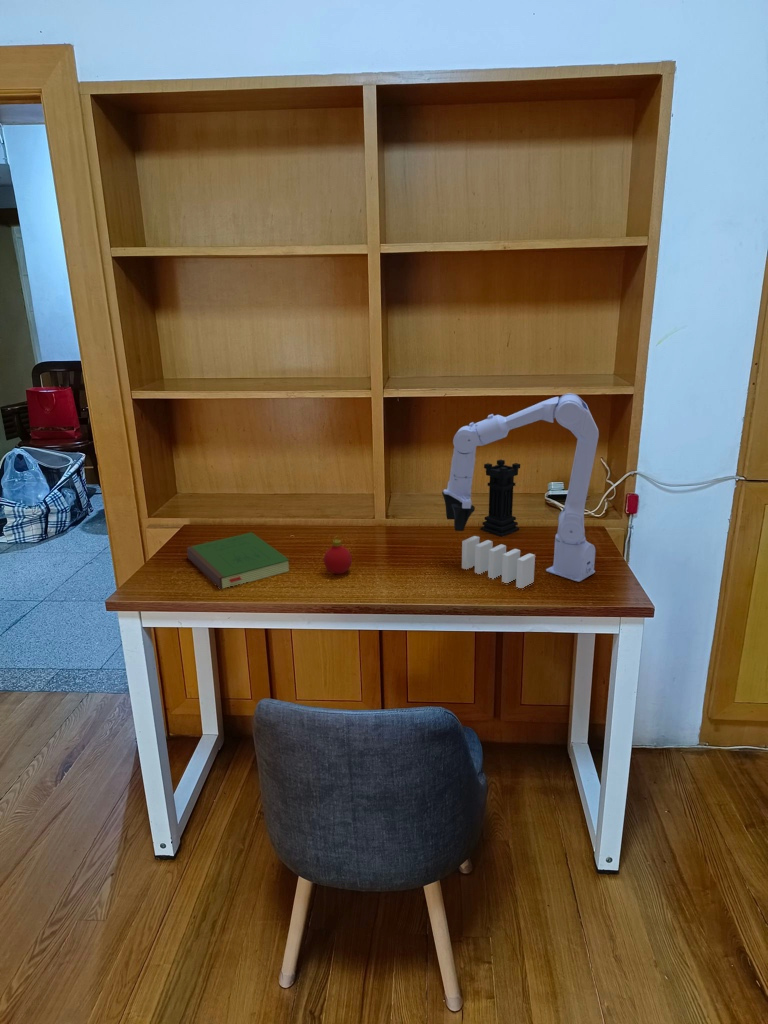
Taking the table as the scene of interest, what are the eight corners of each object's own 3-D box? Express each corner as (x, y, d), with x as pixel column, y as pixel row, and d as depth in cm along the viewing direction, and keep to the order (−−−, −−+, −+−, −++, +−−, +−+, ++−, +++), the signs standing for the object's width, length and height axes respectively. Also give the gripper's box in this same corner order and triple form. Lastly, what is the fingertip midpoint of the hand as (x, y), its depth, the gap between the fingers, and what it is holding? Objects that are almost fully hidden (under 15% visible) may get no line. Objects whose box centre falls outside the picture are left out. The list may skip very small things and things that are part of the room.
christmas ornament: (346, 564, 179) (344, 529, 175) (356, 575, 173) (355, 538, 169) (320, 570, 176) (318, 534, 173) (330, 580, 170) (328, 543, 167)
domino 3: (505, 573, 172) (506, 545, 169) (493, 579, 168) (494, 551, 166) (500, 571, 173) (501, 544, 170) (487, 577, 169) (488, 549, 167)
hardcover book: (188, 560, 185) (186, 547, 184) (252, 544, 195) (251, 532, 194) (222, 593, 166) (220, 579, 164) (291, 574, 175) (290, 560, 174)
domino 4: (519, 578, 169) (520, 550, 166) (507, 584, 166) (508, 556, 163) (513, 576, 170) (515, 548, 167) (501, 582, 167) (502, 554, 164)
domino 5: (533, 583, 166) (535, 554, 163) (521, 589, 163) (522, 561, 160) (528, 581, 167) (529, 553, 164) (515, 587, 164) (517, 559, 161)
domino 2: (491, 568, 174) (492, 541, 172) (479, 574, 171) (480, 547, 169) (486, 566, 176) (487, 539, 173) (474, 572, 172) (475, 545, 170)
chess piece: (480, 529, 200) (482, 464, 194) (497, 523, 205) (500, 458, 199) (501, 537, 195) (504, 469, 188) (519, 529, 200) (522, 464, 193)
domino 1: (478, 564, 177) (479, 537, 175) (466, 569, 174) (467, 542, 172) (473, 562, 178) (474, 535, 176) (461, 568, 175) (462, 541, 173)
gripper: (438, 465, 176) (432, 513, 181) (454, 483, 163) (447, 535, 168) (464, 465, 178) (458, 514, 183) (482, 484, 164) (474, 536, 169)
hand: (454, 524), depth 175 cm, fingers open, 7 cm apart
